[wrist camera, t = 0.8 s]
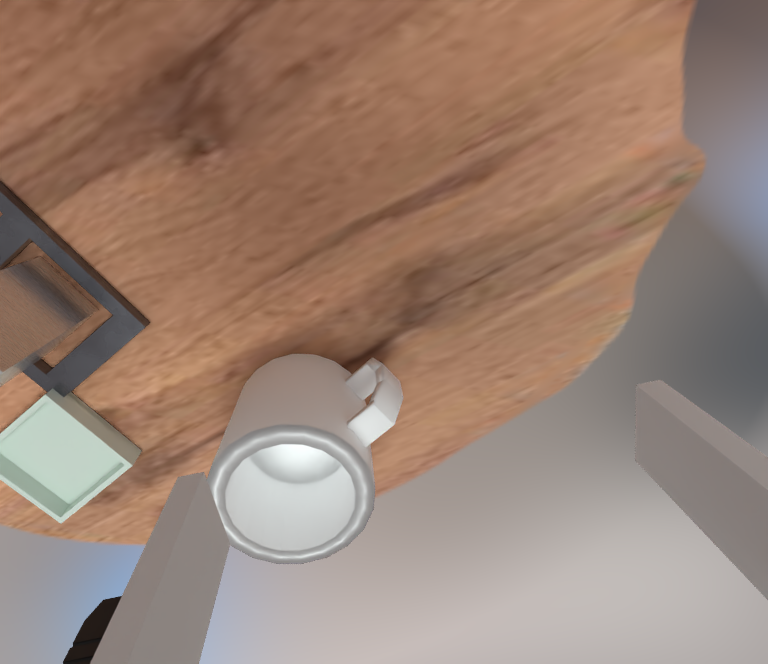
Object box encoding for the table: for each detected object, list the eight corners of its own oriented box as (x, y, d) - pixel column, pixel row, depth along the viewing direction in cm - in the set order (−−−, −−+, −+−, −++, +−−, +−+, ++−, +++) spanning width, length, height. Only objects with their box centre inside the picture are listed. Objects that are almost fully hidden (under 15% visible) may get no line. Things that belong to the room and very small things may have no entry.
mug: (337, 298, 37) (337, 352, 27) (423, 389, 41) (451, 466, 31) (210, 409, 40) (167, 497, 30) (301, 487, 43) (289, 590, 33)
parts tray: (-11, 443, 39) (-29, 458, 37) (59, 382, 38) (45, 394, 36) (73, 506, 41) (60, 523, 40) (142, 450, 40) (132, 465, 38)
